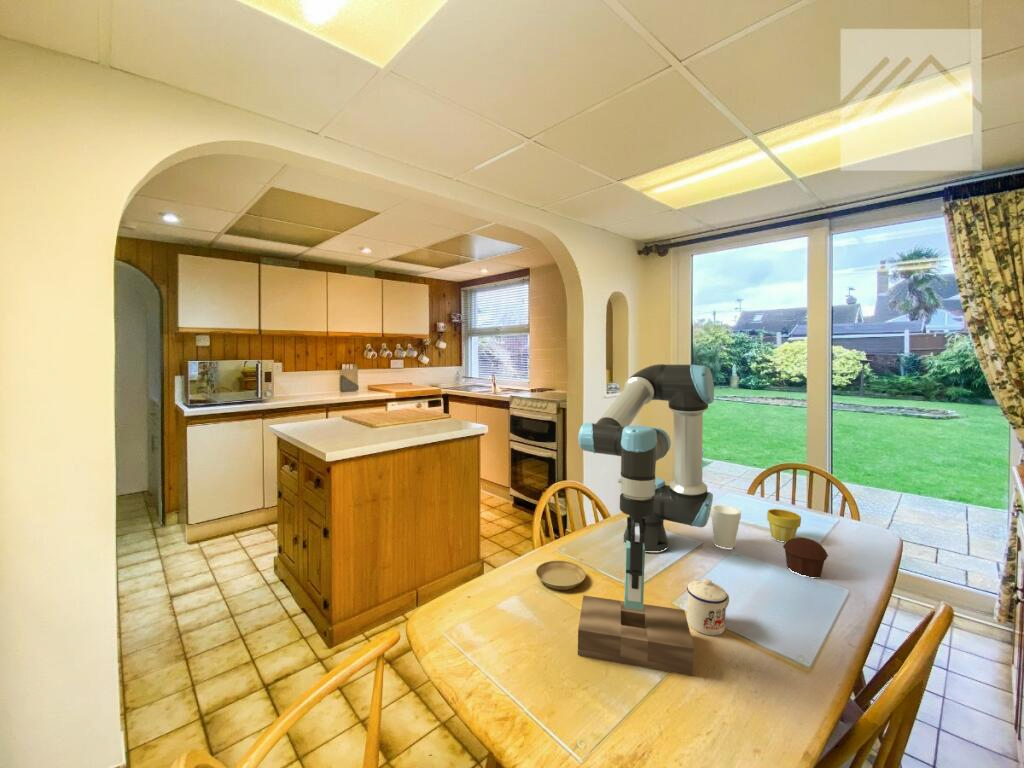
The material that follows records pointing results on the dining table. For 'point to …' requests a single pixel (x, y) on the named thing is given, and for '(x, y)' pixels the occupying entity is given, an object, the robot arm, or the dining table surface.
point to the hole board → (636, 635)
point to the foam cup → (725, 525)
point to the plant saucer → (560, 574)
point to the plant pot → (783, 524)
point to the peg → (628, 603)
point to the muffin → (805, 556)
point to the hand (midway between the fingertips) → (633, 594)
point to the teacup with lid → (706, 607)
